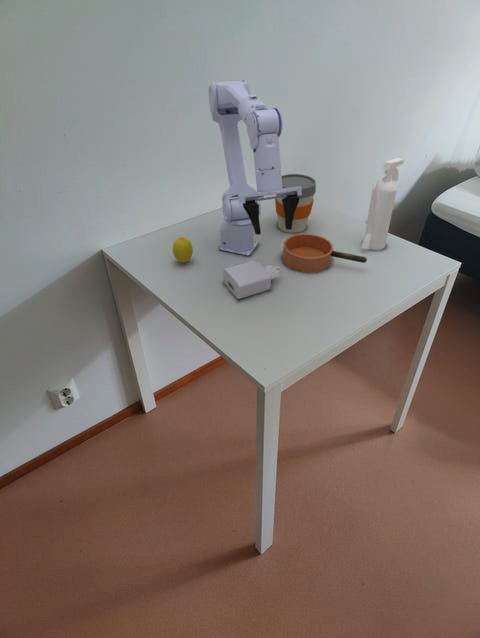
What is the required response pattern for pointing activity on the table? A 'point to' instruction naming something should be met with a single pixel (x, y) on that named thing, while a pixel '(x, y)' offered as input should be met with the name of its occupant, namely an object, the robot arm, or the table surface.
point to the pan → (307, 253)
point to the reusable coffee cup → (303, 206)
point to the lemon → (182, 249)
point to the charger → (249, 278)
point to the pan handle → (348, 256)
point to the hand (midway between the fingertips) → (273, 231)
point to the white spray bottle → (381, 206)
